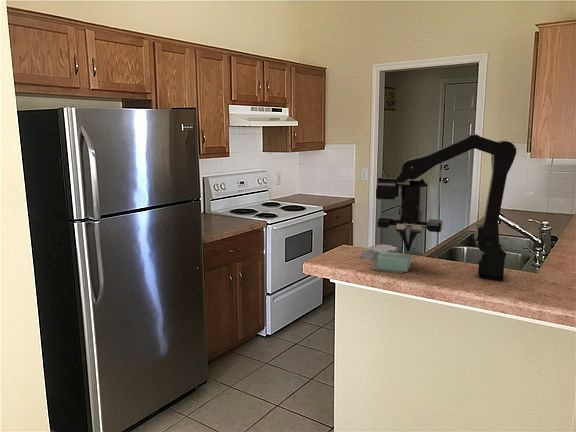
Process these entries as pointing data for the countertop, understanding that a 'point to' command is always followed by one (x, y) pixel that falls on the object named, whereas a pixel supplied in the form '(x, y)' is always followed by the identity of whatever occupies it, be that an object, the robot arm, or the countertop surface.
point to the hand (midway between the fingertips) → (408, 251)
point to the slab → (394, 261)
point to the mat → (384, 269)
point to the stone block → (377, 251)
